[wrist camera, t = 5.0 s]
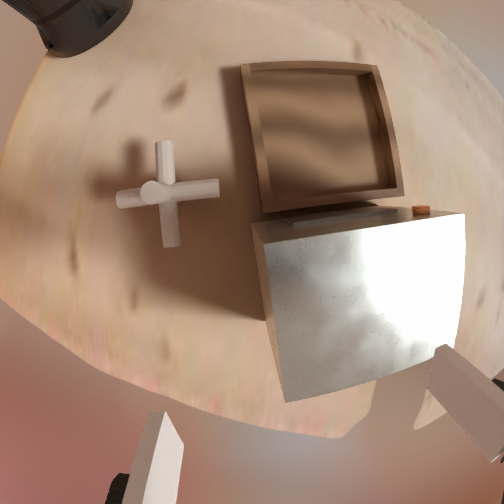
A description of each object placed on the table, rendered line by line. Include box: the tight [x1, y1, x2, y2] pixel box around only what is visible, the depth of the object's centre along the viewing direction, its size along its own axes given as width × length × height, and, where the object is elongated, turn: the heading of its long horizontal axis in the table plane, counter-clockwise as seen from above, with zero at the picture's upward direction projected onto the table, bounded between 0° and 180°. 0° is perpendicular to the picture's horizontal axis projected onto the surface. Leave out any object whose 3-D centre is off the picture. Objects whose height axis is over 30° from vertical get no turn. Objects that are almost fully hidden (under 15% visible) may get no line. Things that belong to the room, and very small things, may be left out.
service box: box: [251, 206, 465, 403], centre depth 24 cm, size 13×16×15 cm
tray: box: [240, 61, 404, 213], centre depth 28 cm, size 17×17×2 cm
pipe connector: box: [116, 140, 220, 248], centre depth 24 cm, size 10×10×10 cm
